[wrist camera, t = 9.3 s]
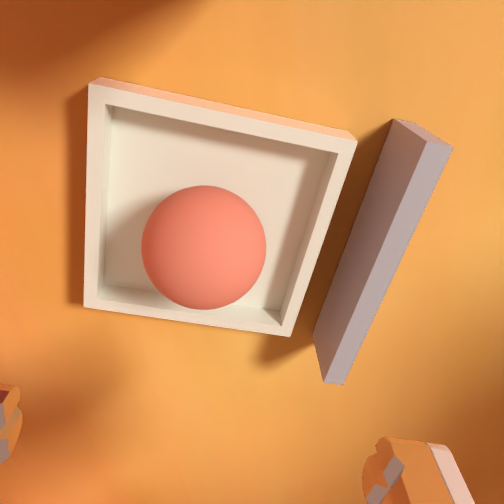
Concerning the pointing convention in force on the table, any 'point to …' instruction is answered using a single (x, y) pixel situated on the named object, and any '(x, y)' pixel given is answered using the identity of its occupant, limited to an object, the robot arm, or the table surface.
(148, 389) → the table surface
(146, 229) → the ball
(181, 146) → the tray
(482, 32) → the table surface
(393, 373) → the table surface
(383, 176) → the bar
